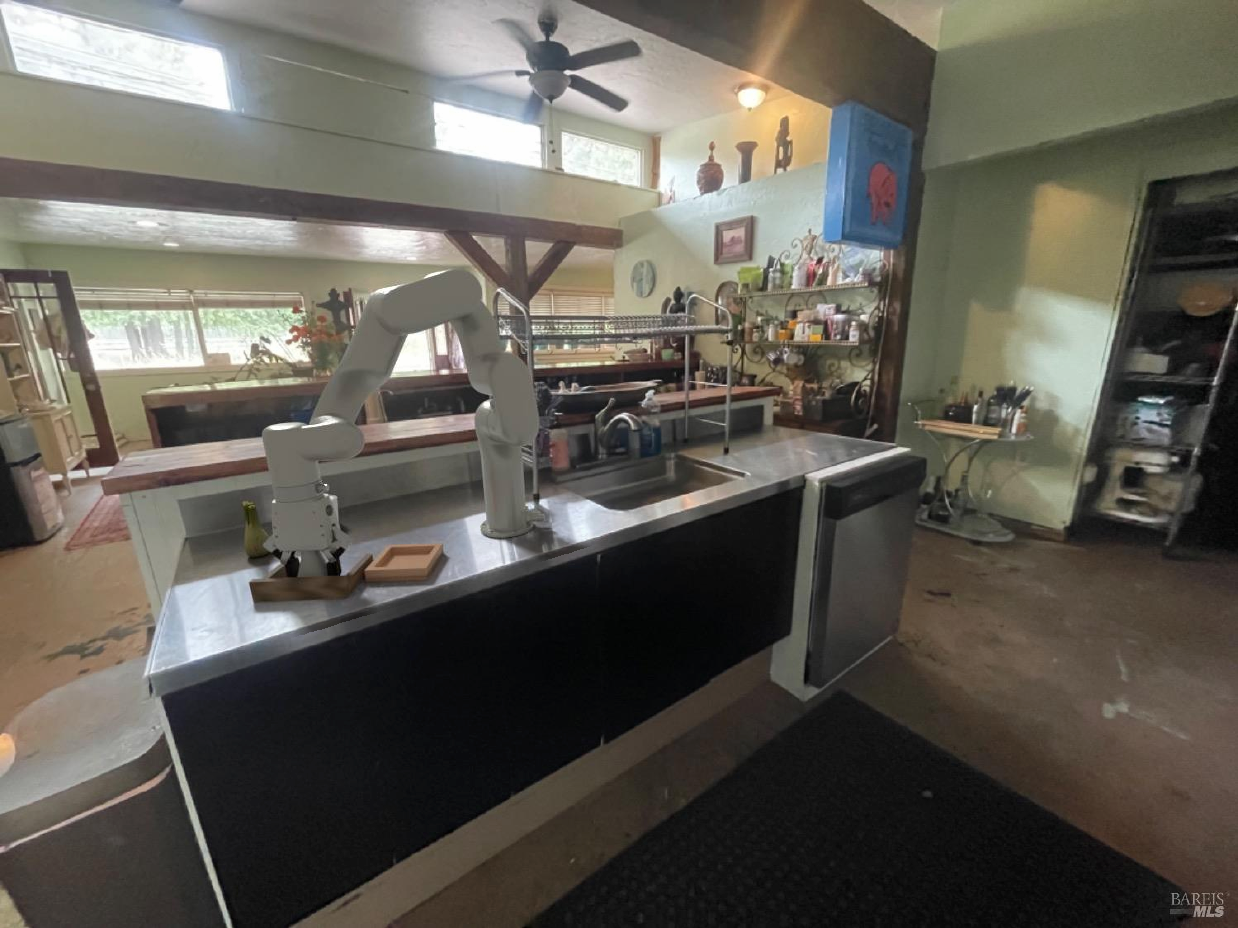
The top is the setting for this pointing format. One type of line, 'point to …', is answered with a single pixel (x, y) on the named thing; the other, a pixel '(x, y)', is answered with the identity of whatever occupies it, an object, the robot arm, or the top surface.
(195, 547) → the top surface
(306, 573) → the flask
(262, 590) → the bay
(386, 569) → the tray
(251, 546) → the fennel bulb
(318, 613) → the top surface
